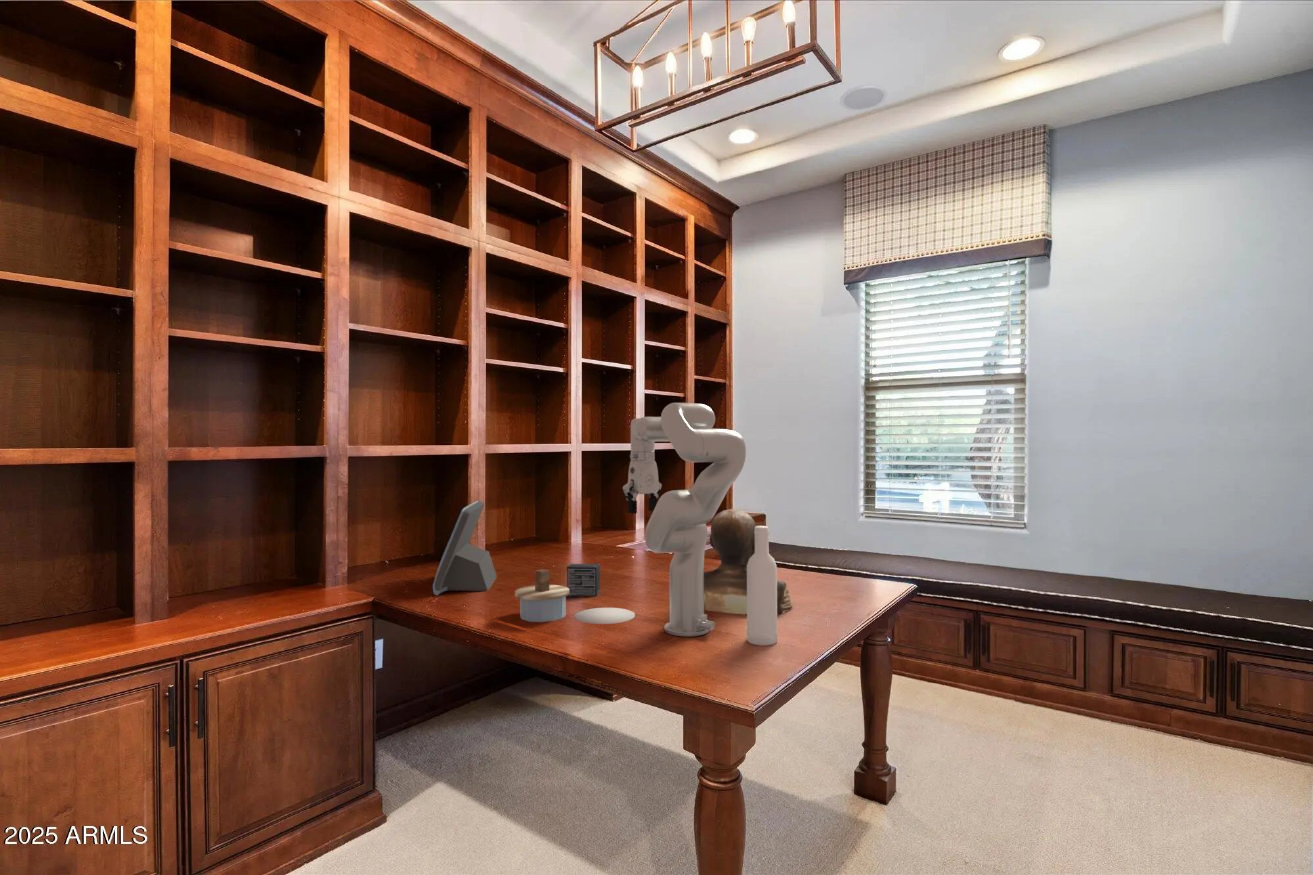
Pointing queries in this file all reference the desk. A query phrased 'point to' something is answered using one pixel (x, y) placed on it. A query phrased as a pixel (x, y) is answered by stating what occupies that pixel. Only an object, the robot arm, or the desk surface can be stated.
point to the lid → (542, 589)
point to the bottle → (762, 592)
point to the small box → (583, 580)
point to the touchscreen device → (465, 558)
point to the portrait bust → (734, 565)
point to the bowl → (542, 610)
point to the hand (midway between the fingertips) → (642, 511)
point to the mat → (604, 615)
